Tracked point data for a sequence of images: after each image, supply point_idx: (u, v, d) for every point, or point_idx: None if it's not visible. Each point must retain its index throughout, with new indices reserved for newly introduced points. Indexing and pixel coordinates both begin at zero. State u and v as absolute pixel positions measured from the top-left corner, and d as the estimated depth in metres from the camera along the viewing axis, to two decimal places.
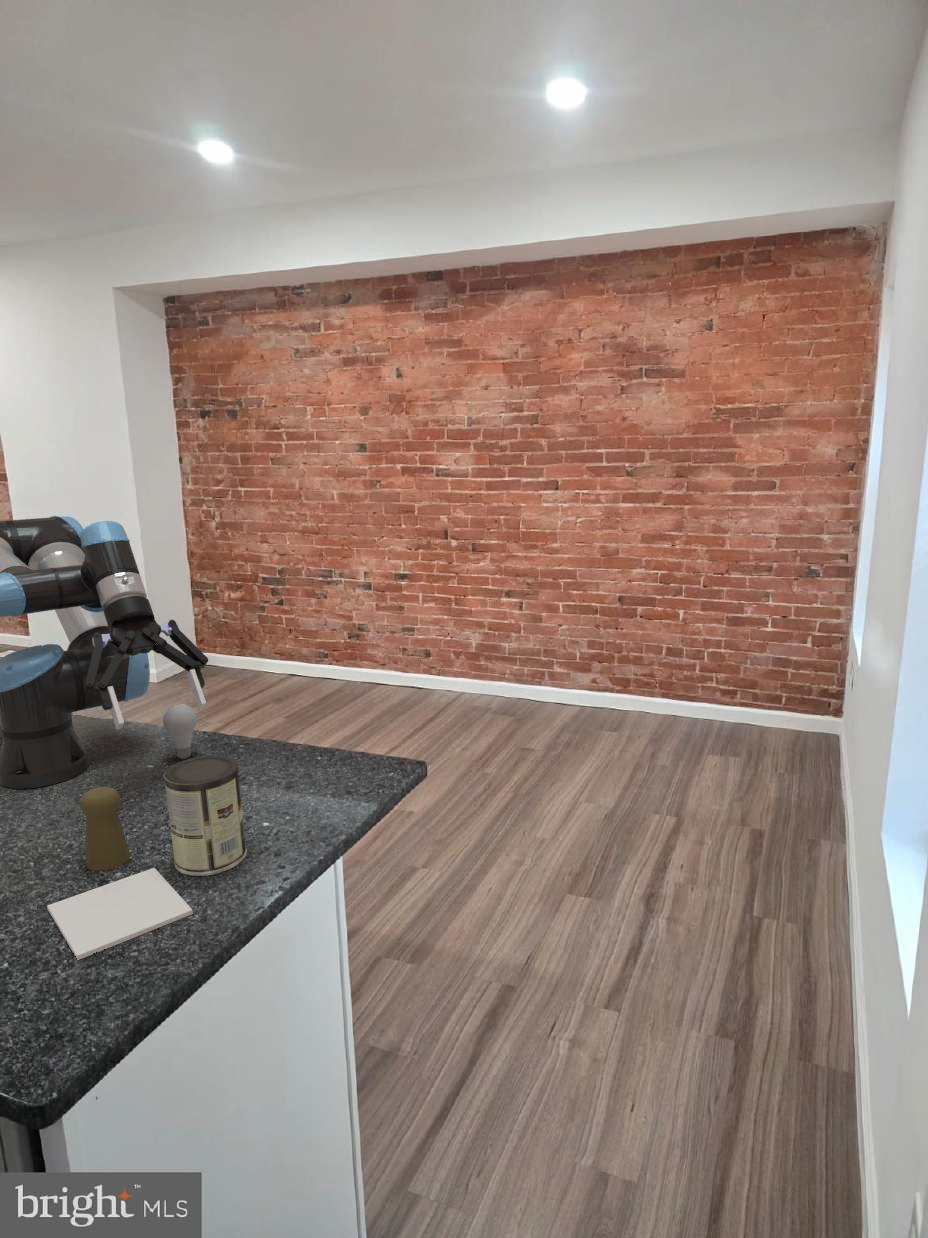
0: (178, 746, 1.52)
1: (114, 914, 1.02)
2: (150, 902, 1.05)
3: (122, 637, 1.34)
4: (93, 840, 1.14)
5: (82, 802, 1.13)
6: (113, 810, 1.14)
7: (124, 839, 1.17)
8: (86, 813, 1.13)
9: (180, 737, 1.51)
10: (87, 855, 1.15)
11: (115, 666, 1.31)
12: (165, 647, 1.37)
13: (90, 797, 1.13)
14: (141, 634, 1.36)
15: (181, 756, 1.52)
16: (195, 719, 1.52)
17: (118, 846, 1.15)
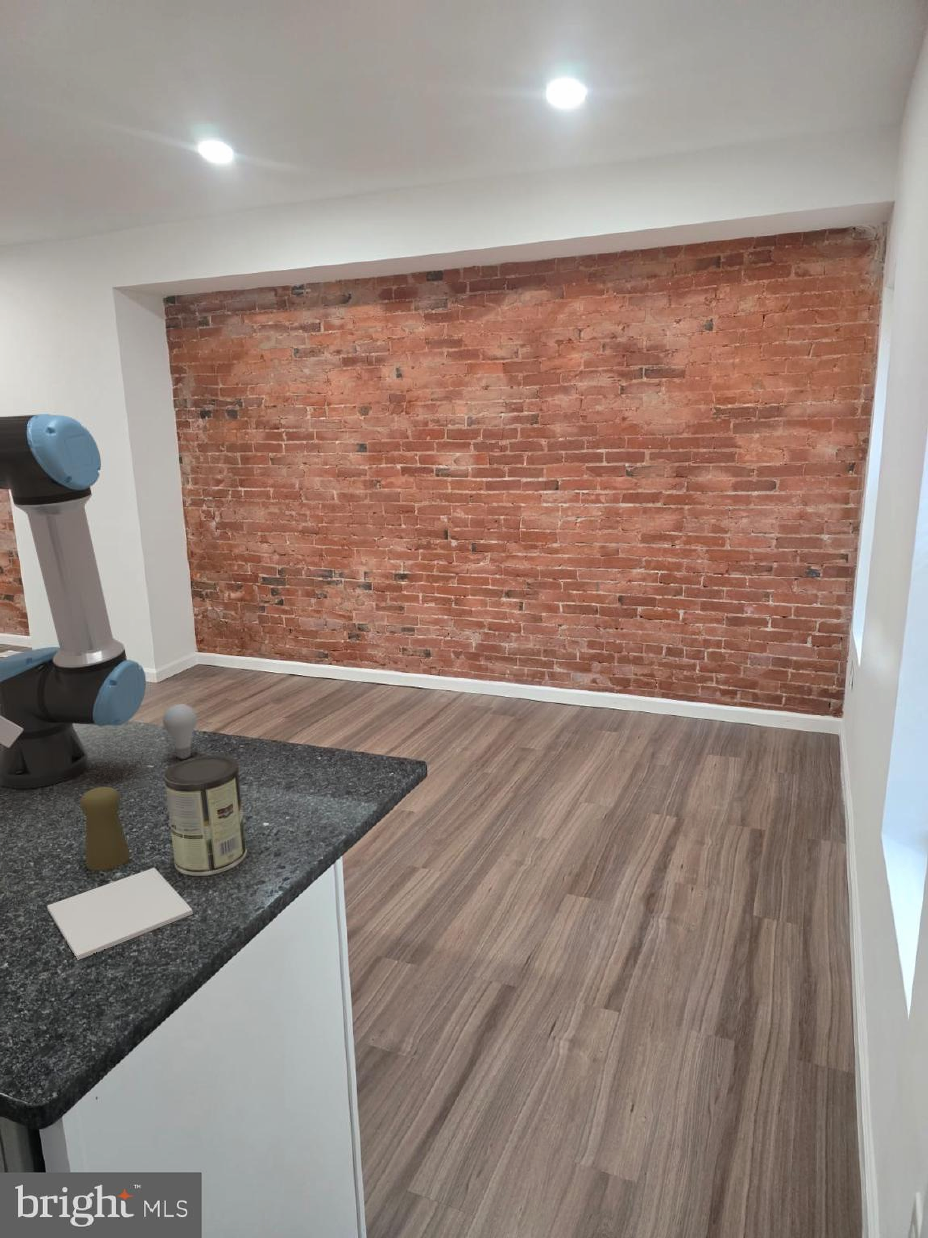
0: (178, 746, 1.52)
1: (114, 914, 1.02)
2: (150, 902, 1.05)
3: None
4: (93, 840, 1.14)
5: (82, 802, 1.13)
6: (113, 809, 1.14)
7: (124, 839, 1.17)
8: (86, 813, 1.13)
9: (180, 737, 1.51)
10: (87, 855, 1.15)
11: None
12: None
13: (90, 797, 1.13)
14: None
15: (181, 756, 1.52)
16: (195, 719, 1.52)
17: (118, 846, 1.15)
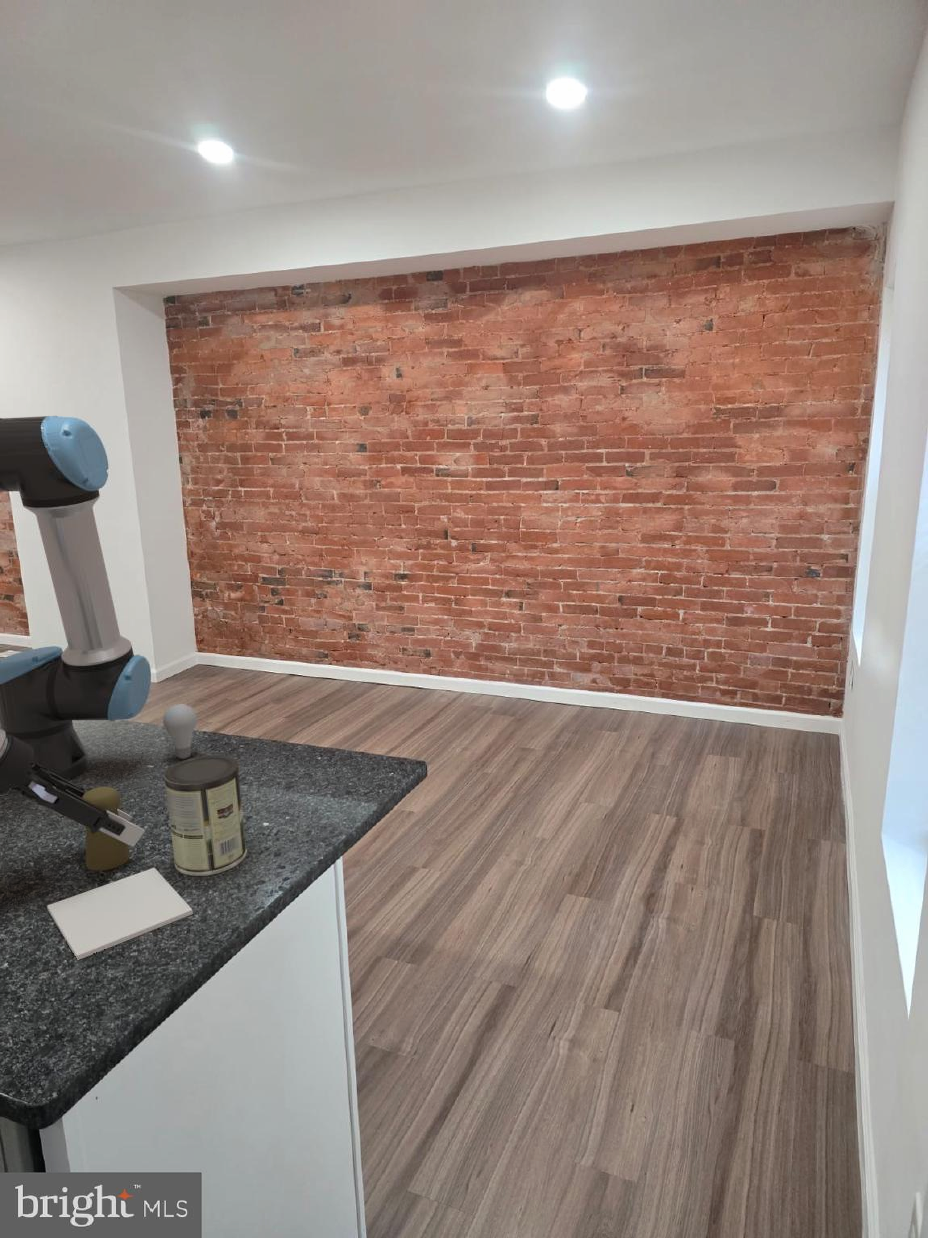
0: (178, 746, 1.52)
1: (114, 914, 1.02)
2: (150, 902, 1.05)
3: None
4: (93, 840, 1.14)
5: None
6: (113, 809, 1.14)
7: None
8: None
9: (180, 737, 1.51)
10: (87, 855, 1.15)
11: None
12: None
13: (90, 797, 1.13)
14: None
15: (181, 756, 1.52)
16: (195, 719, 1.52)
17: (118, 846, 1.15)
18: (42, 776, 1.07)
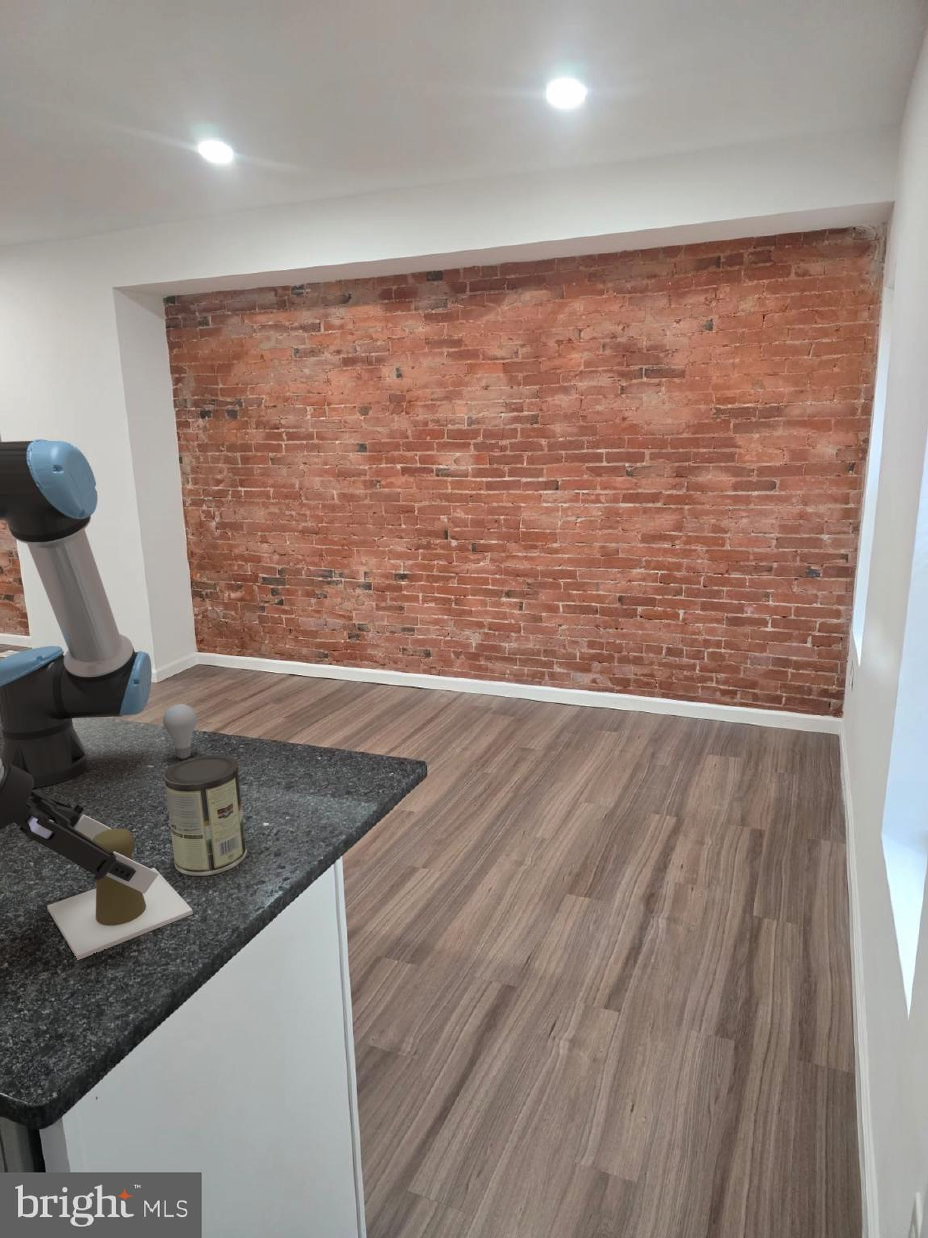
0: (178, 746, 1.52)
1: None
2: (150, 902, 1.05)
3: None
4: (105, 890, 0.99)
5: None
6: (127, 855, 1.00)
7: None
8: None
9: (180, 737, 1.51)
10: (97, 907, 1.00)
11: None
12: None
13: (101, 841, 0.99)
14: None
15: (181, 756, 1.52)
16: (195, 719, 1.52)
17: (133, 896, 1.01)
18: (41, 808, 0.94)
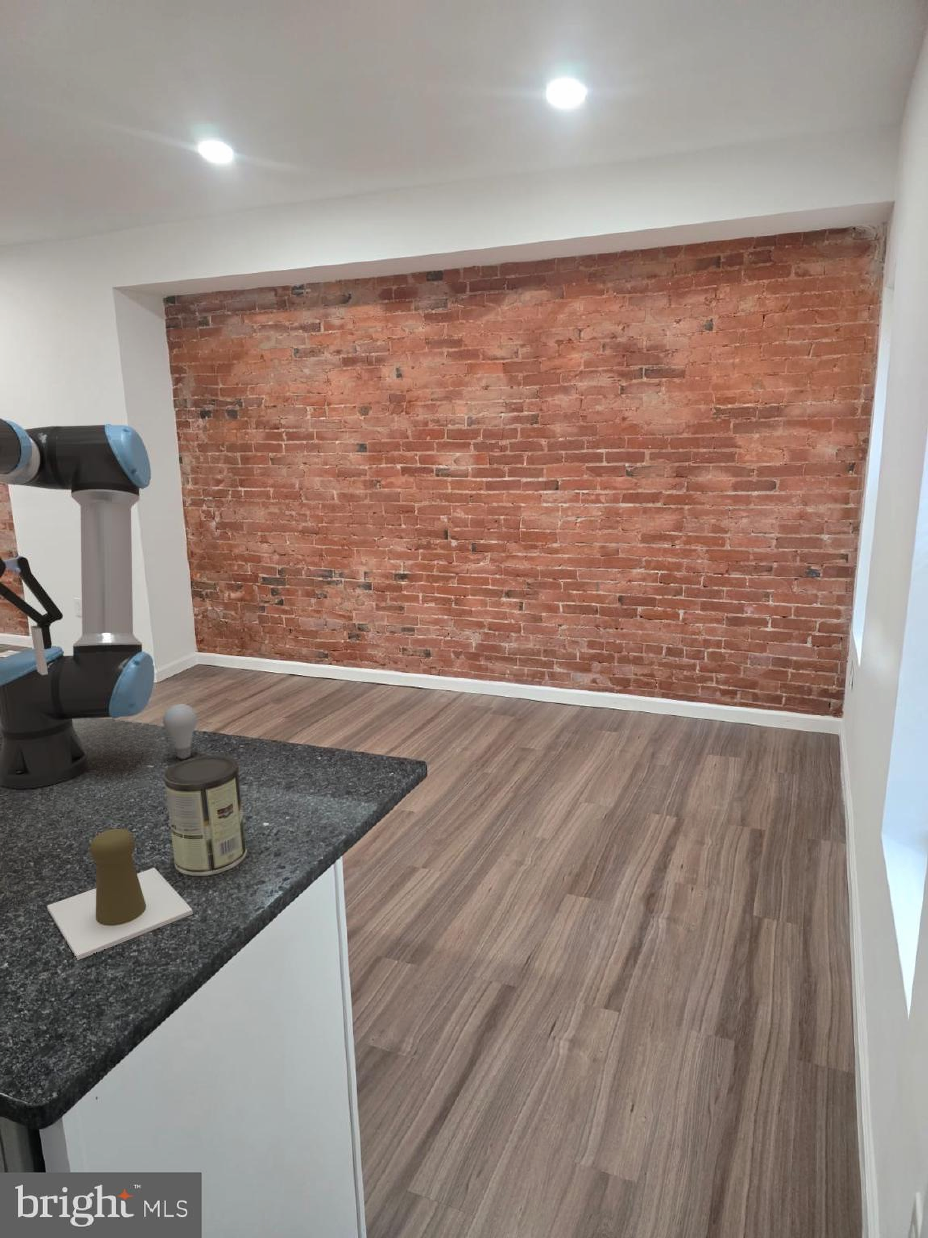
0: (178, 746, 1.52)
1: None
2: (150, 902, 1.05)
3: None
4: (105, 891, 0.99)
5: (92, 847, 0.99)
6: (127, 856, 1.00)
7: (139, 888, 1.03)
8: (96, 860, 0.99)
9: (180, 737, 1.51)
10: (97, 907, 1.00)
11: None
12: (6, 596, 1.06)
13: (101, 842, 0.99)
14: None
15: (181, 756, 1.52)
16: (195, 719, 1.52)
17: (133, 897, 1.01)
18: None
